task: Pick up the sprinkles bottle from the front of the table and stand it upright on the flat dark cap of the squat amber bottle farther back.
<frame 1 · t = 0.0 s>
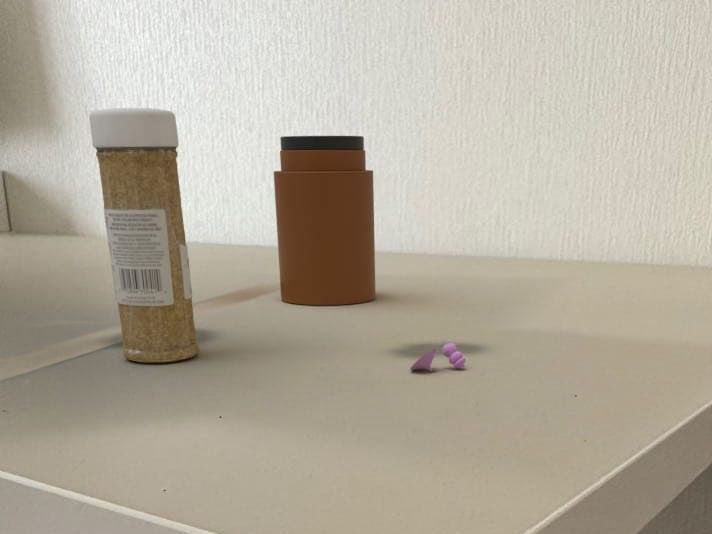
pair of purple pieces: (436, 373, 49), on the table
sprinkles bottle: (161, 360, 53), on the table
amber bottle: (328, 298, 75), on the table
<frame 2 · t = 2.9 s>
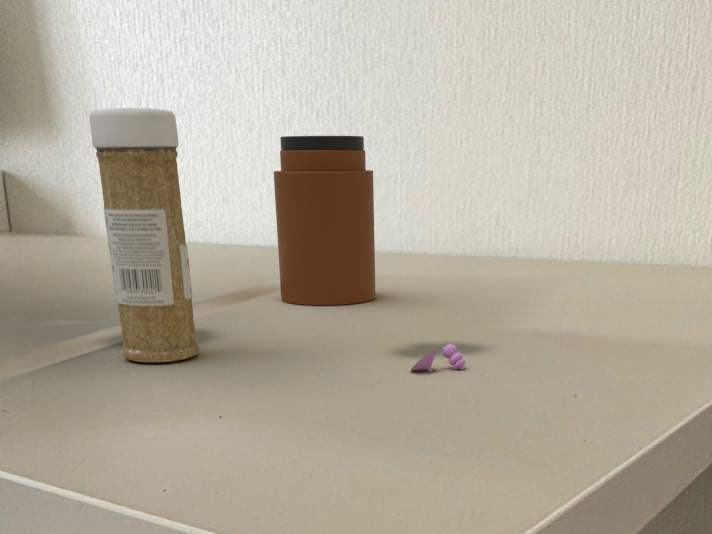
nothing on the table moved.
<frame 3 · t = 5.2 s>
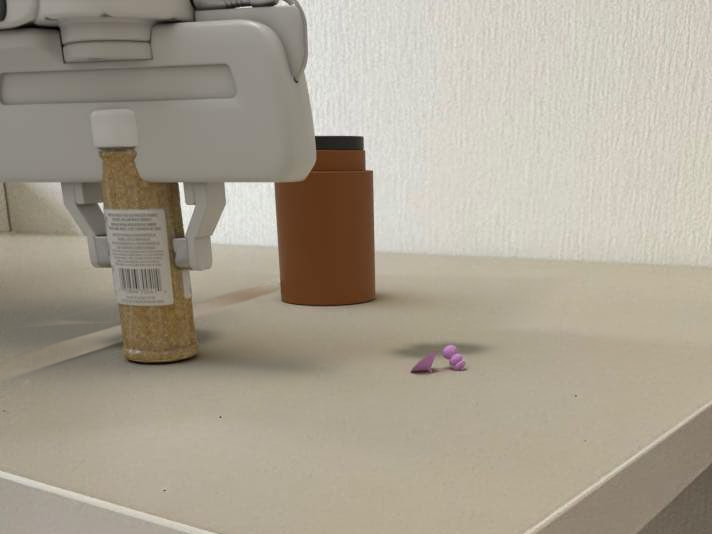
hand: (151, 268, 51), 5 cm above the table, tool pointing down, fingers closed on sprinkles bottle, 4 cm apart
sprinkles bottle: (161, 360, 53), on the table, touching gripper
everything else where it was.
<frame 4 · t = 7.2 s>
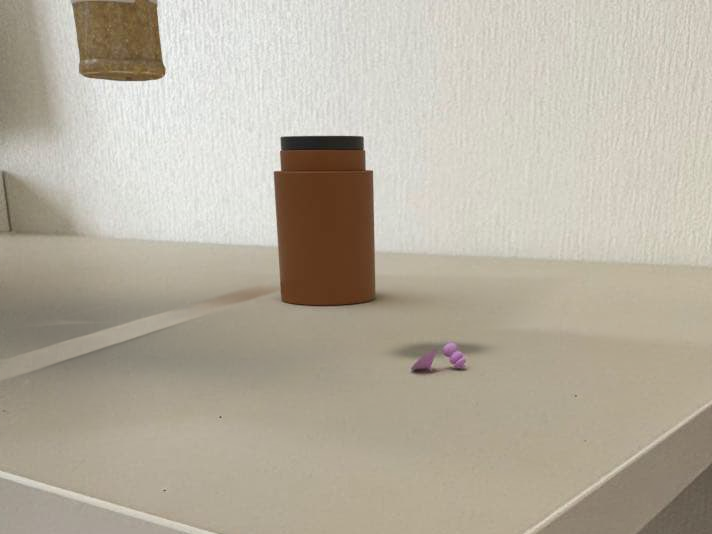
sprinkles bottle: (123, 83, 47), point 15 cm above the table, touching gripper
everything else where it was.
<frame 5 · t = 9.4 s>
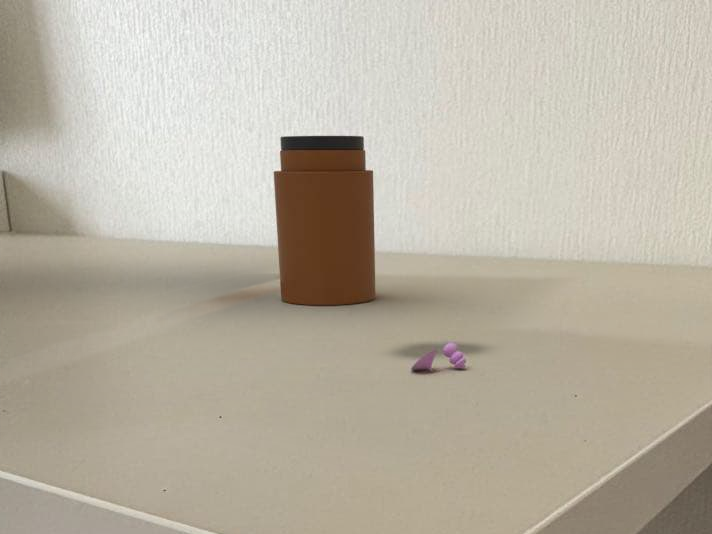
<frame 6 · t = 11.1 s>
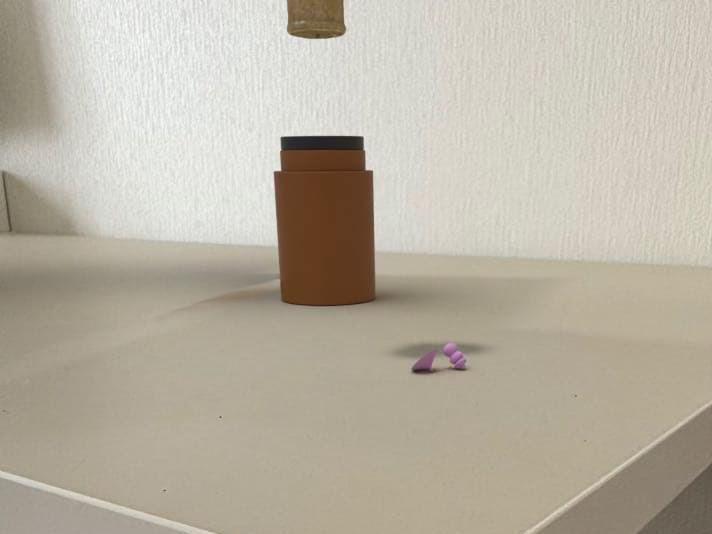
sprinkles bottle: (316, 39, 67), point 19 cm above the table, touching gripper
everything else where it was.
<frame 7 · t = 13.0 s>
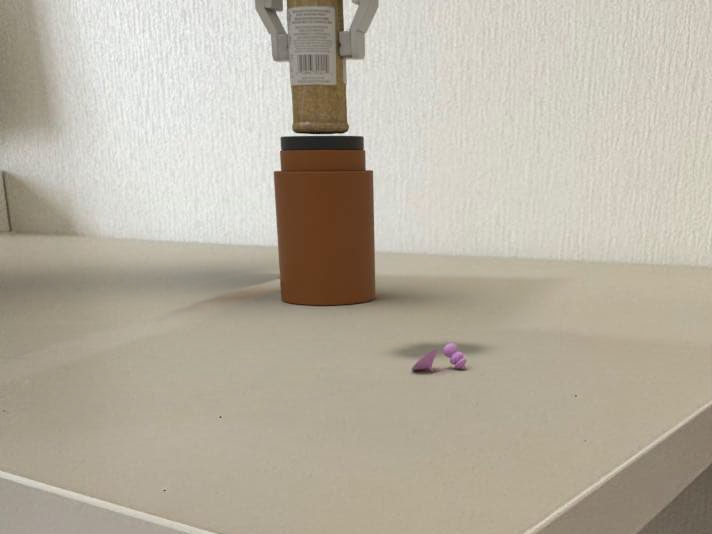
hand: (318, 60, 68), 18 cm above the table, tool pointing down, fingers closed on sprinkles bottle, 4 cm apart
sprinkles bottle: (320, 136, 70), point 12 cm above the table, touching gripper
everything else where it was.
when the fingers open (18 cm above the table, at t = 13.4 s): sprinkles bottle stays where it is, resting on amber bottle.
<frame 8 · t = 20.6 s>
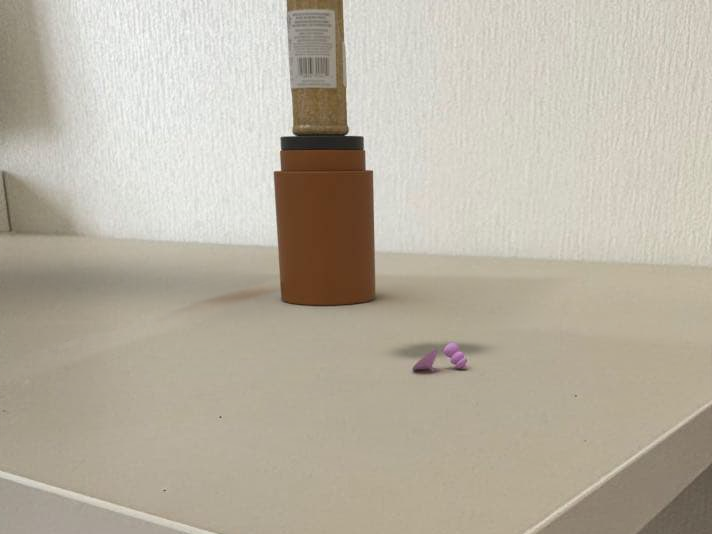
sprinkles bottle: (320, 139, 70), point 12 cm above the table, touching amber bottle
amber bottle: (328, 298, 75), on the table, touching sprinkles bottle
everything else where it was.
at the end: sprinkles bottle 0.1 cm off-centre on the amber bottle, point 12.3 cm above the amber bottle's base; sprinkles bottle tilted 0°; amber bottle tilted 0° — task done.
